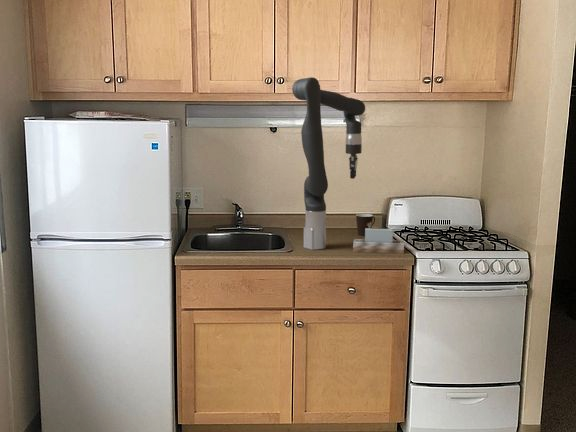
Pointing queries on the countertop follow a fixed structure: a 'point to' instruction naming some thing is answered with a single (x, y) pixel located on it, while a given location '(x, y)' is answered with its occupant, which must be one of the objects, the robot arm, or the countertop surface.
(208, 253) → the countertop surface
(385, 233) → the blue-gray rectangular block
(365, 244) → the track base
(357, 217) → the coffee mug
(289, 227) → the countertop surface
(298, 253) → the countertop surface
